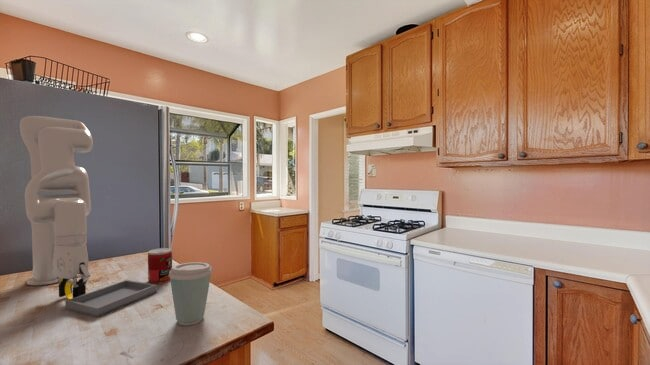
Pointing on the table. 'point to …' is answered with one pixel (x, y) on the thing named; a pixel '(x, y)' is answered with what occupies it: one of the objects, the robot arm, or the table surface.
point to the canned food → (159, 265)
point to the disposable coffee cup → (190, 291)
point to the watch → (67, 289)
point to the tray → (110, 298)
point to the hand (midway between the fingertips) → (72, 296)
